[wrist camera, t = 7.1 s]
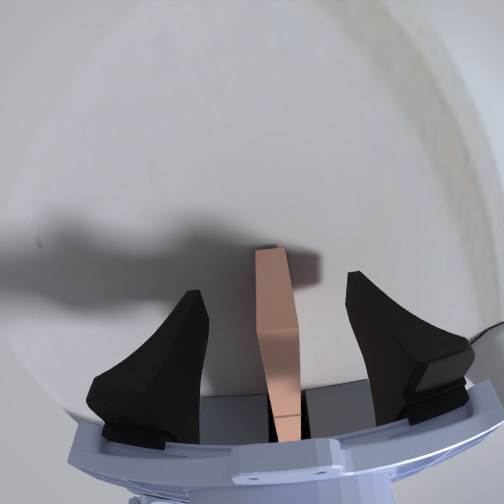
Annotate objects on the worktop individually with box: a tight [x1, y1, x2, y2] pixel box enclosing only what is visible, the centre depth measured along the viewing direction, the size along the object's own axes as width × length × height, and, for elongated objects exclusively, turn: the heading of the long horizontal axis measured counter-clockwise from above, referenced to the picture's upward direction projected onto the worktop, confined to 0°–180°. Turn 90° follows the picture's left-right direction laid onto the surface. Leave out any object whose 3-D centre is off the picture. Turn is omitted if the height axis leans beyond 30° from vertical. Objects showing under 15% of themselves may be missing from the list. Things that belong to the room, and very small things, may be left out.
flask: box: [465, 323, 504, 410], centre depth 16 cm, size 7×7×10 cm
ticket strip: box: [255, 247, 301, 442], centre depth 15 cm, size 1×16×5 cm, turn 8°
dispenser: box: [199, 379, 376, 445], centre depth 21 cm, size 14×10×7 cm
